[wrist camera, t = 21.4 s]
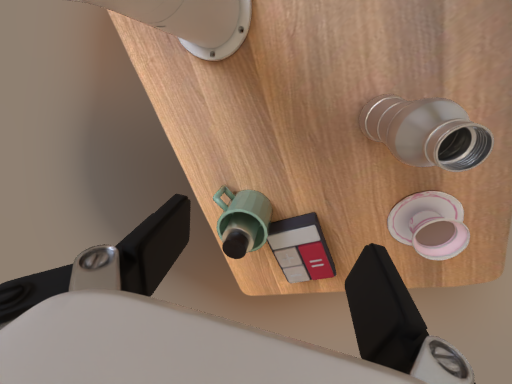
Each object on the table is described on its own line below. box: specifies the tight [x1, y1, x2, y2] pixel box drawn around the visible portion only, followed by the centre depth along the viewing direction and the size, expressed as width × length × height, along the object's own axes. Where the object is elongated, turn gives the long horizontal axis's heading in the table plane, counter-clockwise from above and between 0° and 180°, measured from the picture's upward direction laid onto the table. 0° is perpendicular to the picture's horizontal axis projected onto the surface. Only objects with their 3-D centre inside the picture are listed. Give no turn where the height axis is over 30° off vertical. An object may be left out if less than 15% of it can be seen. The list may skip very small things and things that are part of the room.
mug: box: [213, 185, 273, 252], centre depth 41 cm, size 13×10×8 cm
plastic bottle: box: [359, 94, 494, 172], centre depth 24 cm, size 6×7×20 cm
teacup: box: [387, 191, 470, 260], centre depth 36 cm, size 12×12×6 cm
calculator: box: [267, 213, 336, 283], centre depth 45 cm, size 11×4×15 cm
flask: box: [222, 212, 260, 259], centre depth 39 cm, size 6×6×12 cm
